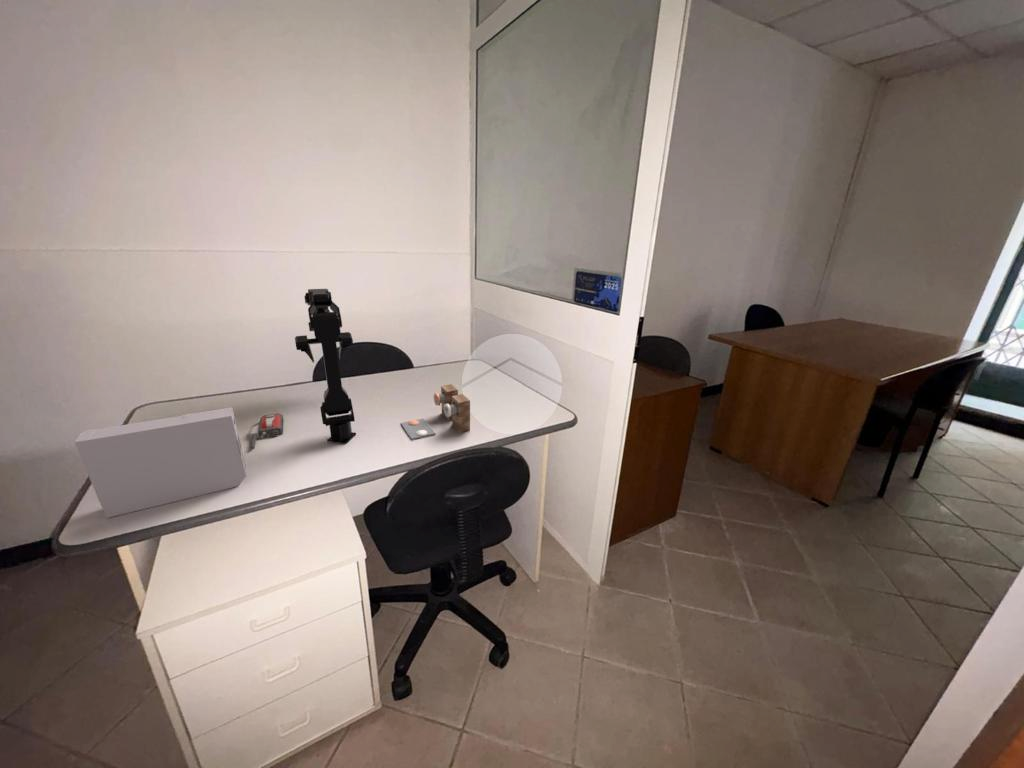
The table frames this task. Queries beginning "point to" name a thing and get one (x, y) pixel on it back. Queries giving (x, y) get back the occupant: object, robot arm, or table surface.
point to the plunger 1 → (439, 398)
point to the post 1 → (448, 396)
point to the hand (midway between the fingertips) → (327, 360)
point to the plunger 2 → (450, 409)
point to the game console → (162, 460)
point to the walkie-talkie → (267, 427)
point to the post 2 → (461, 413)
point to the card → (417, 429)
